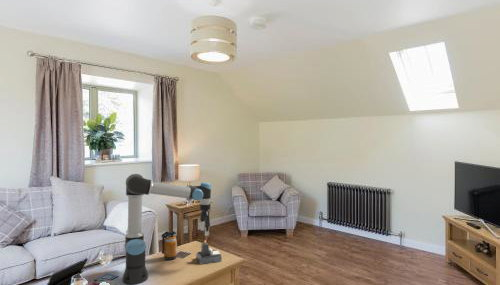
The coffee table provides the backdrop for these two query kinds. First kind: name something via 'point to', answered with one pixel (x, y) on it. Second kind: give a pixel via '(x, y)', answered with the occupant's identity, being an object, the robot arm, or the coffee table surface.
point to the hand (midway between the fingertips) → (204, 232)
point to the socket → (208, 258)
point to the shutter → (213, 252)
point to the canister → (169, 245)
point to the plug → (204, 249)
